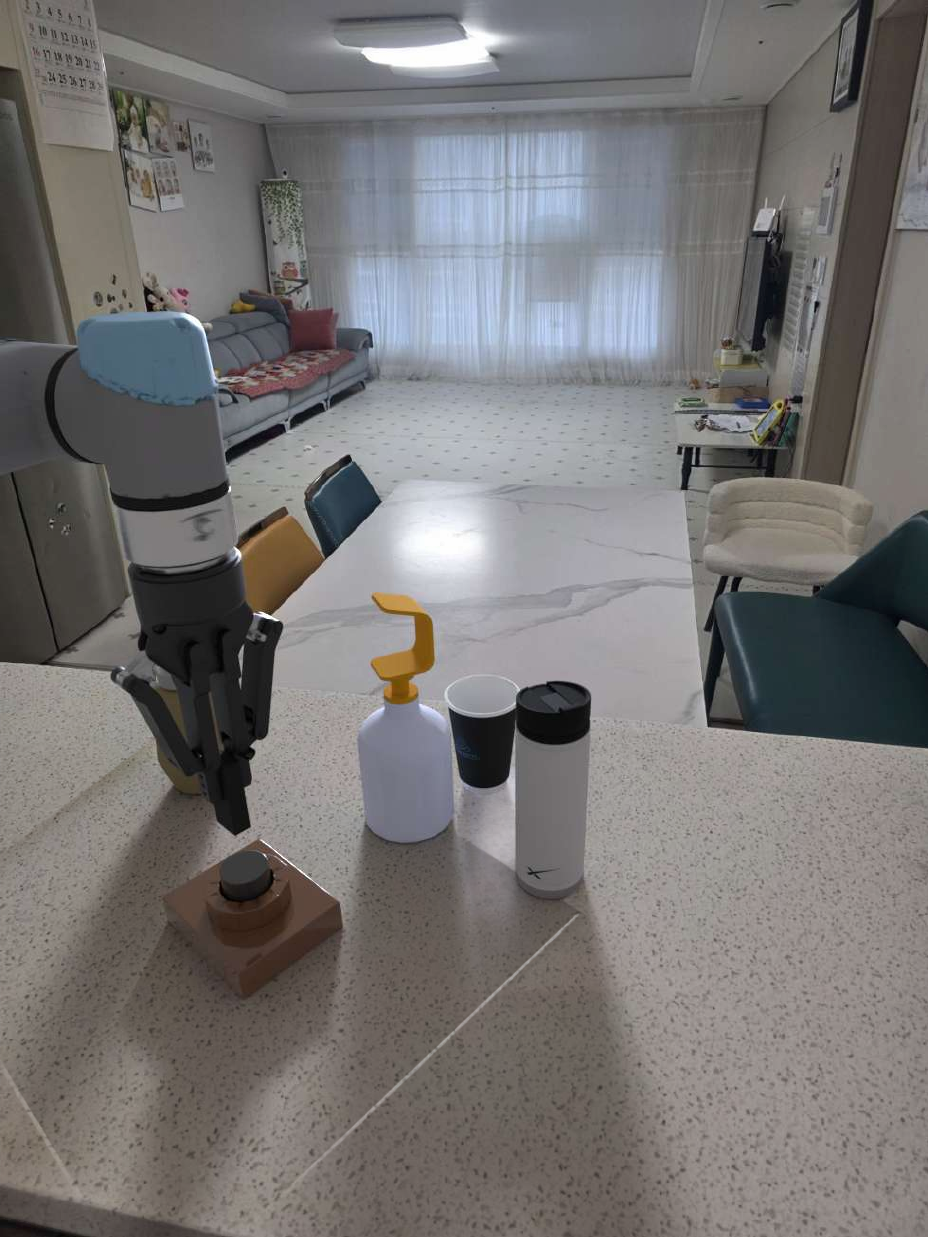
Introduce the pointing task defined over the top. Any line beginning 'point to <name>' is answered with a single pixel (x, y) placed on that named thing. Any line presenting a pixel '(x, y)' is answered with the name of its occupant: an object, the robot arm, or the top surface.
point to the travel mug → (551, 787)
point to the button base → (253, 922)
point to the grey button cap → (245, 876)
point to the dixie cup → (483, 730)
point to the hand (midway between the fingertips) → (233, 823)
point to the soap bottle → (406, 742)
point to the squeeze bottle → (172, 701)
